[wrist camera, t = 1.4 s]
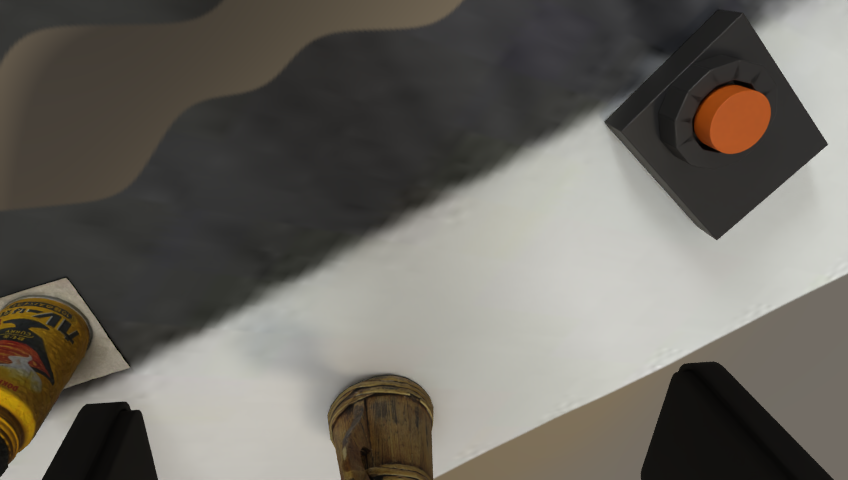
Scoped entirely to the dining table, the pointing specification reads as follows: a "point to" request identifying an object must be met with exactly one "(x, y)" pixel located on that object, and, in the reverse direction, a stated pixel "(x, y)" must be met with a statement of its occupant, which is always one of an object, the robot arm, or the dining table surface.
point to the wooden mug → (383, 430)
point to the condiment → (45, 358)
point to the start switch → (732, 118)
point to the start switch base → (701, 164)
